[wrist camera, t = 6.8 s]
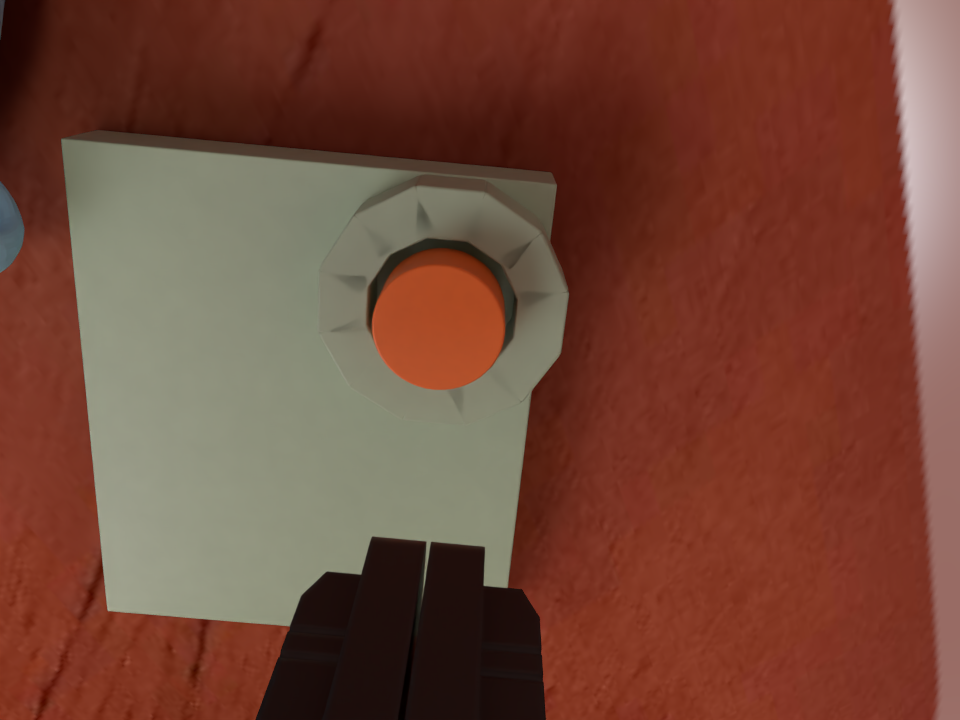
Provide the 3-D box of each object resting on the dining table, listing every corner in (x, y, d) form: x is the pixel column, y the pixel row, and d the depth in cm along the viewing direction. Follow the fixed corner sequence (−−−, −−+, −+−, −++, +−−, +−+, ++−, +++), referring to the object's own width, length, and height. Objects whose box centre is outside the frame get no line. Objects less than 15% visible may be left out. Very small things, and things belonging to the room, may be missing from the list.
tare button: (510, 253, 19) (512, 271, 18) (498, 370, 20) (498, 396, 19) (383, 241, 19) (374, 258, 18) (377, 360, 20) (368, 384, 19)
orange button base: (569, 173, 22) (582, 198, 18) (514, 605, 27) (516, 684, 23) (96, 129, 21) (24, 146, 18) (132, 573, 27) (82, 648, 23)
